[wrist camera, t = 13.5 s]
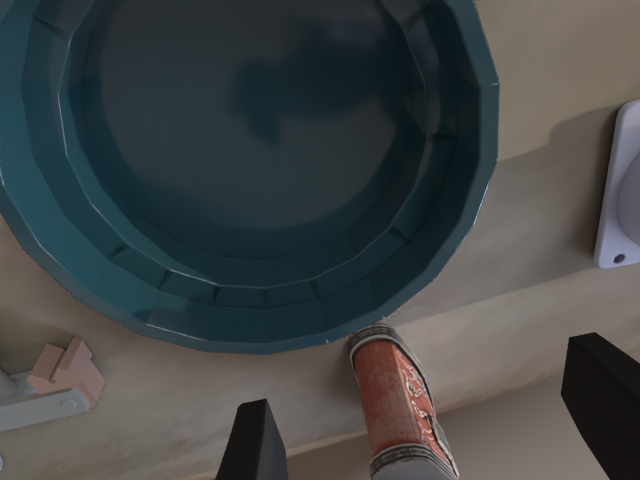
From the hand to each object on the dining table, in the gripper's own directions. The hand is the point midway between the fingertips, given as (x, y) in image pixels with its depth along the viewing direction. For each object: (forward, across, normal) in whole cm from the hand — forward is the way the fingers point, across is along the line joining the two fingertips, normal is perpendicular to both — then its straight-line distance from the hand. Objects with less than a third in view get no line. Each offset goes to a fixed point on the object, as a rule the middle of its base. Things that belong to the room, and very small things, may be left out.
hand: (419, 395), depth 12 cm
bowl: (+10, +3, -4) cm, 12 cm away
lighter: (+11, -1, +11) cm, 16 cm away
